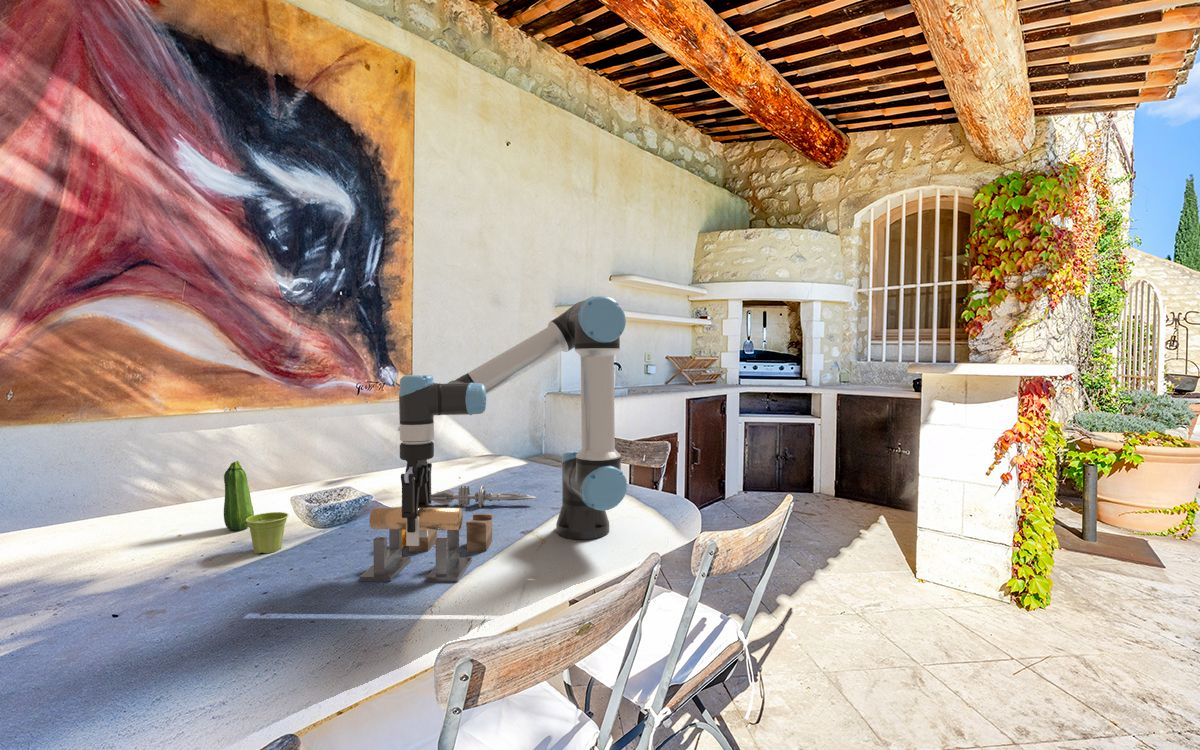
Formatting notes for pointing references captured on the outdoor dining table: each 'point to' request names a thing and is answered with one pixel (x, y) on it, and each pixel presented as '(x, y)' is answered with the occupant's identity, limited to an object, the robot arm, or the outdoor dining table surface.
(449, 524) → the tube
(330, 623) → the outdoor dining table surface
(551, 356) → the robot arm
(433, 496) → the spaceship
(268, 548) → the plant pot
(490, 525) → the walnut rest
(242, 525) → the vegetable
